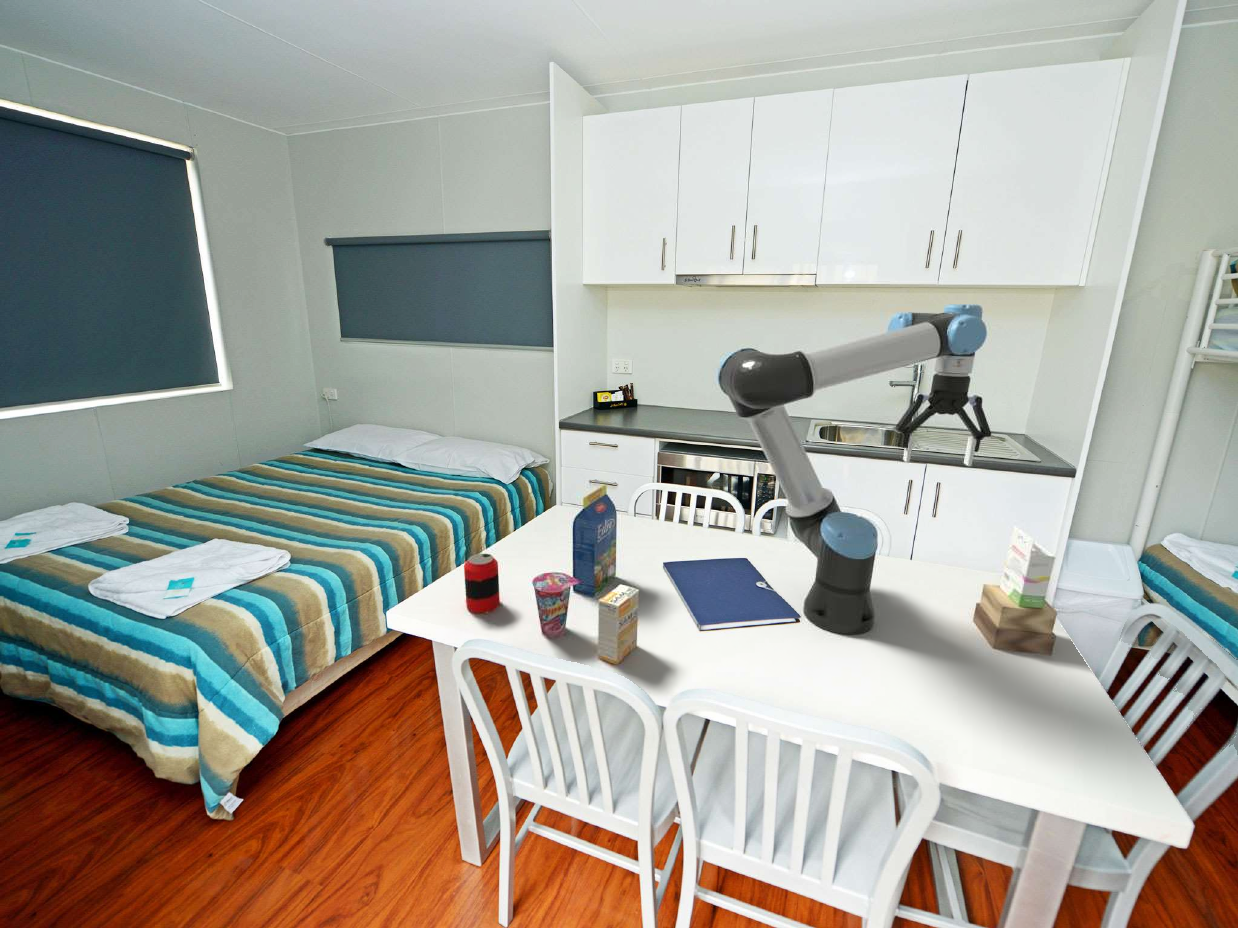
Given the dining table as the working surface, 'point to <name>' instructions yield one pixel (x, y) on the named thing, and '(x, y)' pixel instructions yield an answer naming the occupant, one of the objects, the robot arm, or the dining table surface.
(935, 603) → the dining table surface
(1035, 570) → the ink box
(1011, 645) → the base slab
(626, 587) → the supplement box
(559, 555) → the dining table surface
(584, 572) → the blue food package
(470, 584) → the soda can
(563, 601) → the cup
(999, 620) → the top slab
